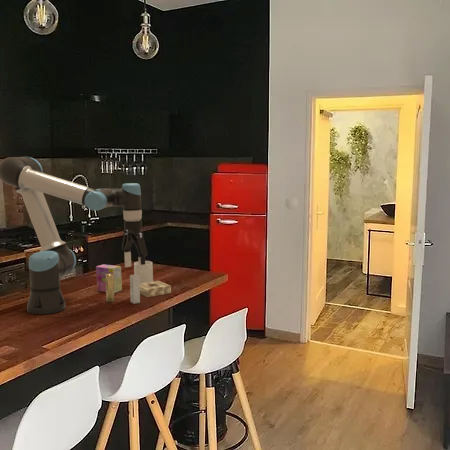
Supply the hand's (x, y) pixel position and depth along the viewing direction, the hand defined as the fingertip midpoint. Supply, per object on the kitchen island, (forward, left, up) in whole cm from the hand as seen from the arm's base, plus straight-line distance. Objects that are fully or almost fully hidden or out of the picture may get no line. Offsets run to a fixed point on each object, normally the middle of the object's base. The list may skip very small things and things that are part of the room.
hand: (135, 269), depth 227 cm
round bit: (-8, +8, -15) cm, 19 cm away
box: (-1, +25, -15) cm, 29 cm away
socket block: (+14, +10, -15) cm, 23 cm away
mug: (+18, +26, -15) cm, 35 cm away
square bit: (0, 0, -15) cm, 15 cm away
